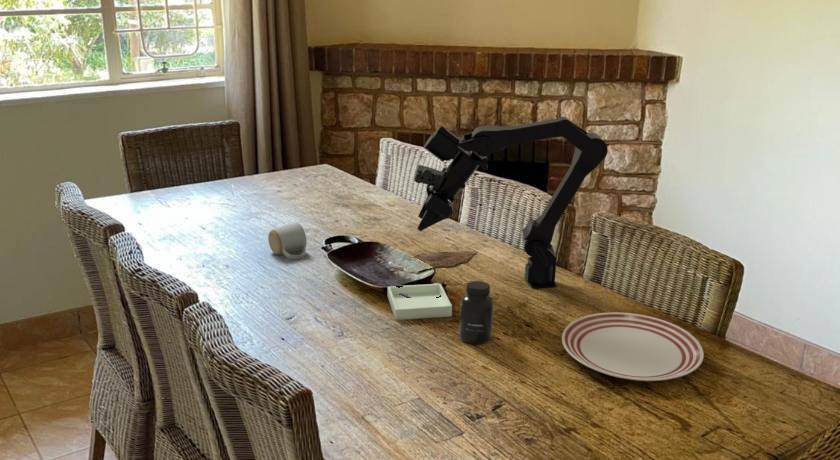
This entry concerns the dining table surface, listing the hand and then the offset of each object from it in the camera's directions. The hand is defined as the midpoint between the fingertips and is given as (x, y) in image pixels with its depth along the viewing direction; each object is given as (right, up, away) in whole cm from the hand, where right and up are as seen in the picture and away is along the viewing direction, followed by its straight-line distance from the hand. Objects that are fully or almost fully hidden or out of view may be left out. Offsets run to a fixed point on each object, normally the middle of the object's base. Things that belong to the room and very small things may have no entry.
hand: (419, 223), depth 185 cm
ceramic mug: (-34, -8, +20) cm, 41 cm away
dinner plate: (+42, -27, -30) cm, 59 cm away
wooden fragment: (+5, -10, +17) cm, 20 cm away
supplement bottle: (+12, -24, -24) cm, 36 cm away
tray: (0, -19, -10) cm, 21 cm away
